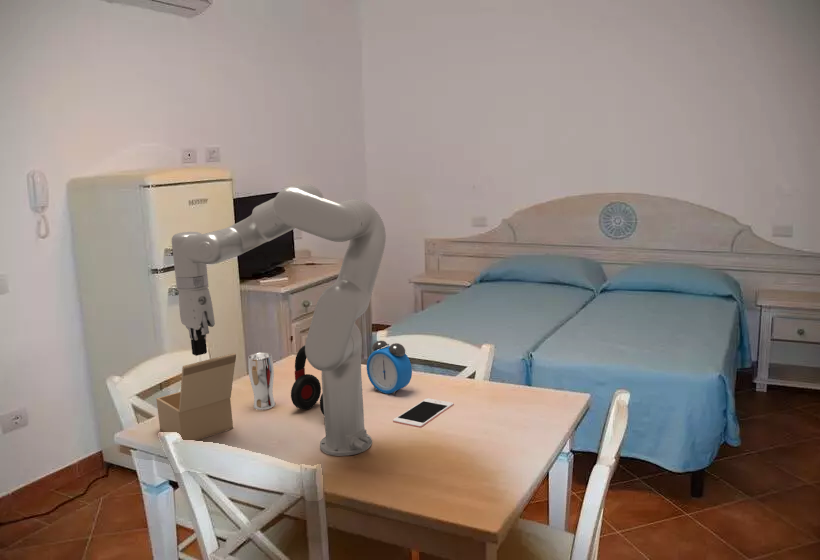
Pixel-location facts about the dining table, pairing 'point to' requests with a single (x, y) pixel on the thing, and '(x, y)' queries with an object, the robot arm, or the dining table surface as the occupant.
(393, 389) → the alarm clock
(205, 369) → the lid
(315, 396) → the headphones
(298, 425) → the dining table surface
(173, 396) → the carton
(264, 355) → the beer glass
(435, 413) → the cell phone
